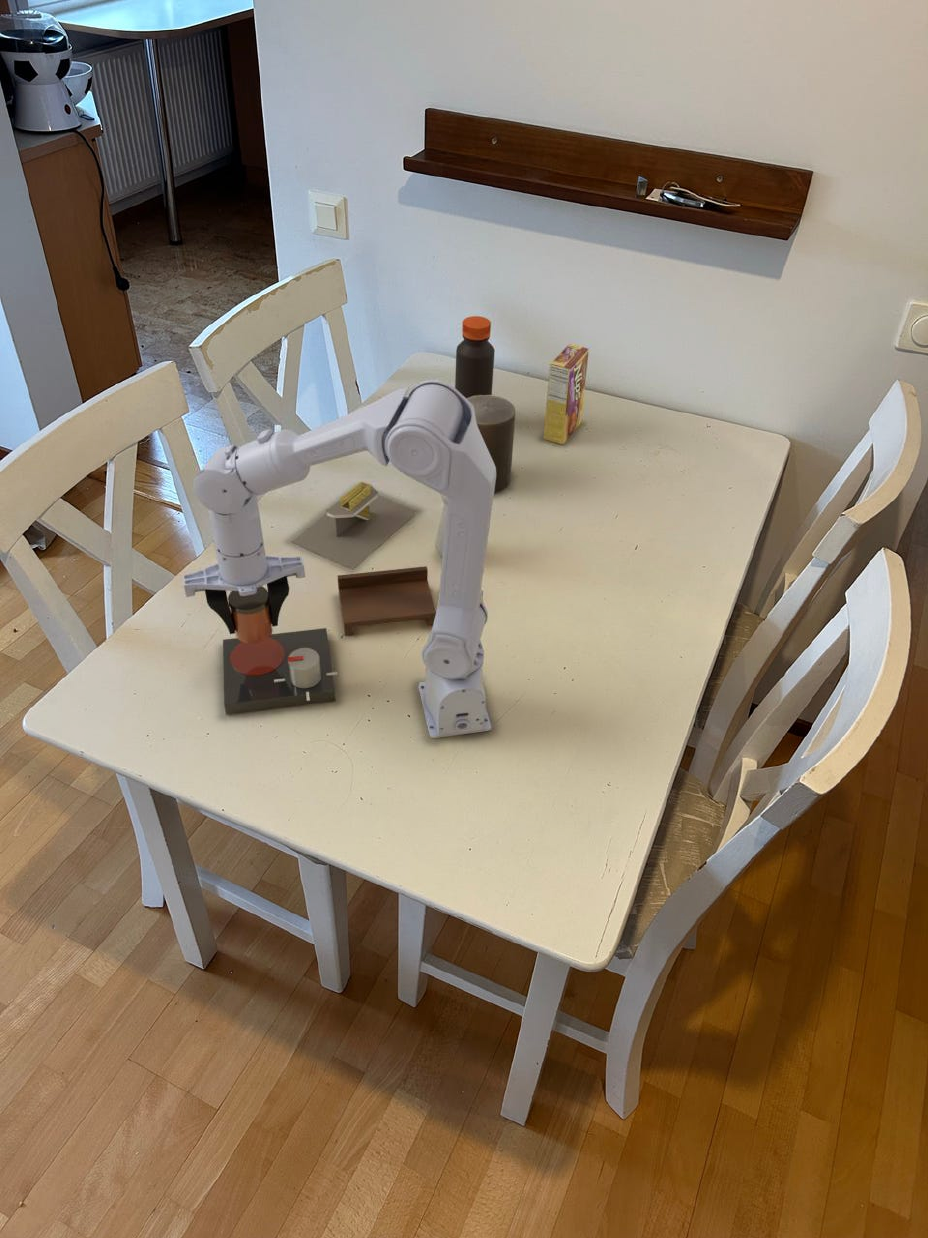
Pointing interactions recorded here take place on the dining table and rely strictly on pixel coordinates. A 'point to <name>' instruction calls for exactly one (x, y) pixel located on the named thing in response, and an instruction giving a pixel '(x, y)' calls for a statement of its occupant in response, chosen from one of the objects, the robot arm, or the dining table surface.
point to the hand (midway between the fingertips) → (252, 624)
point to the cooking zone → (257, 657)
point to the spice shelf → (385, 597)
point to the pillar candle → (496, 433)
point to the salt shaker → (441, 528)
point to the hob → (278, 677)
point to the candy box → (565, 393)
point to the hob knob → (304, 668)
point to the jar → (251, 616)
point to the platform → (355, 526)
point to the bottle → (475, 358)
